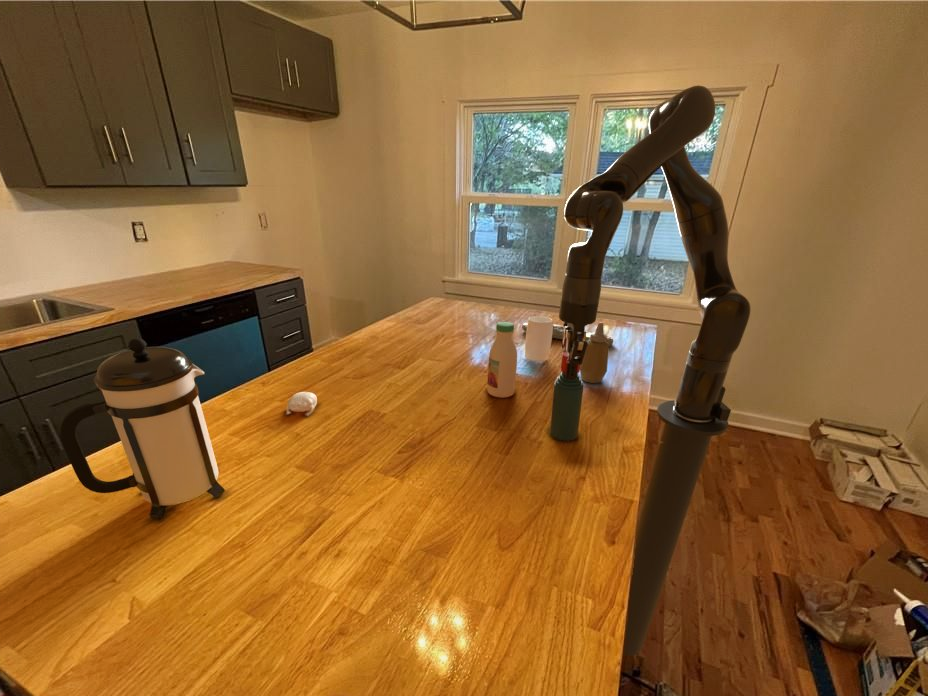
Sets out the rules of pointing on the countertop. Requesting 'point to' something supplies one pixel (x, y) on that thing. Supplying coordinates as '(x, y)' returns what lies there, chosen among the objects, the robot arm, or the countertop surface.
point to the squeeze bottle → (595, 357)
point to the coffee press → (151, 427)
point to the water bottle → (566, 407)
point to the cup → (538, 338)
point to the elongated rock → (558, 333)
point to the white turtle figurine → (302, 402)
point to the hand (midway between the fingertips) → (568, 374)
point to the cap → (564, 363)
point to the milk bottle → (502, 362)
